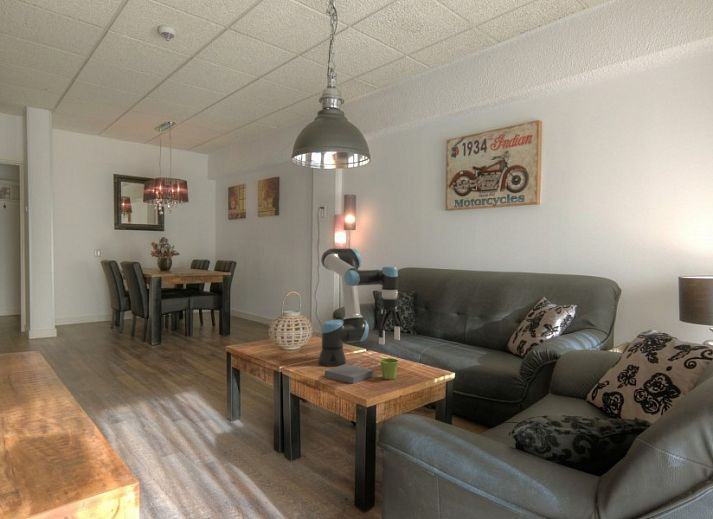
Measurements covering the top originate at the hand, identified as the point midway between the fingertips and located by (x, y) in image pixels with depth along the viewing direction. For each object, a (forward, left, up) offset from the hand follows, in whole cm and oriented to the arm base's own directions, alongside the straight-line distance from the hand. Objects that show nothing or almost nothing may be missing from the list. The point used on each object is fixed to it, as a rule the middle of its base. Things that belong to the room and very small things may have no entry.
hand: (389, 341), depth 207 cm
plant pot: (0, 0, -18) cm, 18 cm away
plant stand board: (-17, -10, -18) cm, 27 cm away
